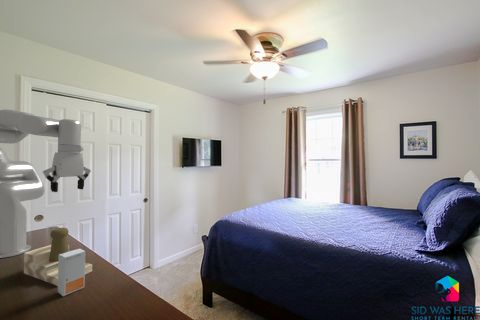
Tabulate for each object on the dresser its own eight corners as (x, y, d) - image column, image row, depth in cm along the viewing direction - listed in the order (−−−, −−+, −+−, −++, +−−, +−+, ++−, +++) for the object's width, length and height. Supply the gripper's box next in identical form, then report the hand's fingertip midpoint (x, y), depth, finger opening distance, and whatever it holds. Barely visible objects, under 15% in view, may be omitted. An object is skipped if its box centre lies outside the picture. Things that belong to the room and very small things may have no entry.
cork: (57, 262, 79) (57, 231, 79) (44, 260, 81) (44, 230, 81) (73, 255, 85) (73, 226, 85) (61, 253, 87) (61, 225, 87)
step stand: (24, 273, 82) (24, 252, 82) (58, 260, 92) (58, 242, 92) (58, 286, 73) (58, 263, 73) (92, 271, 84) (92, 251, 84)
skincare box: (63, 297, 68) (63, 257, 68) (57, 292, 70) (57, 254, 70) (85, 287, 73) (85, 250, 73) (79, 283, 75) (79, 247, 75)
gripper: (85, 150, 103) (84, 187, 103) (39, 148, 87) (37, 192, 87) (95, 150, 100) (94, 189, 100) (49, 148, 84) (48, 194, 84)
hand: (68, 190), depth 94 cm, fingers open, 9 cm apart
